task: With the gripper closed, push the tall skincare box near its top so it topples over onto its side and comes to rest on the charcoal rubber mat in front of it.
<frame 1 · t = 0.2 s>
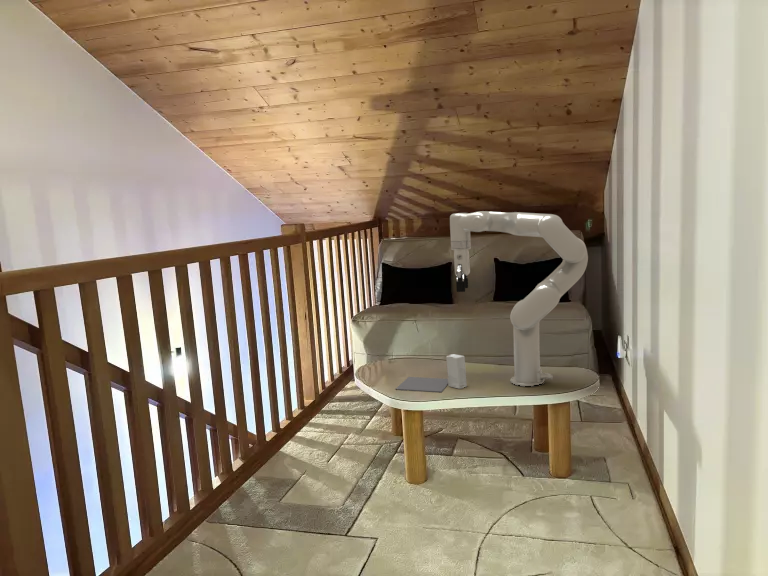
hand: (462, 289, 223), 36 cm above the table, tool pointing down, fingers open, 9 cm apart
skincare box: (457, 387, 220), on the table
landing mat: (424, 384, 225), on the table
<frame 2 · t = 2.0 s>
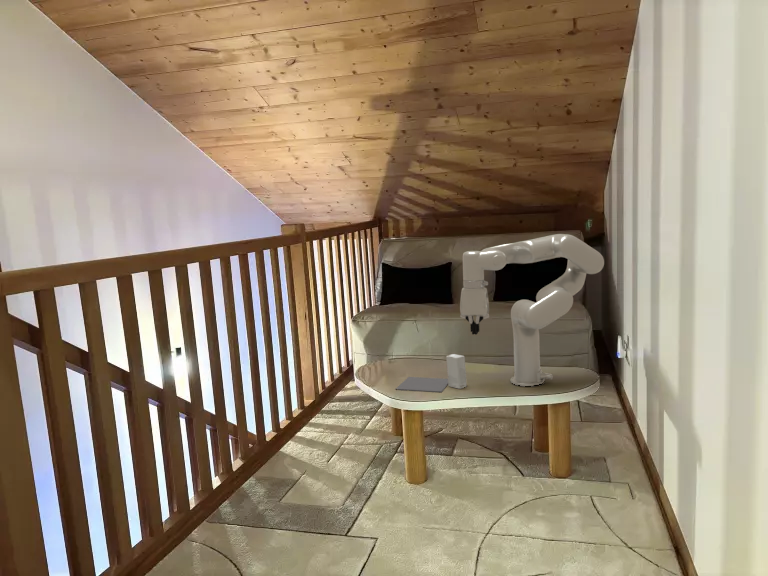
hand: (475, 333, 214), 21 cm above the table, tool pointing down, fingers closed
nothing on the table moved.
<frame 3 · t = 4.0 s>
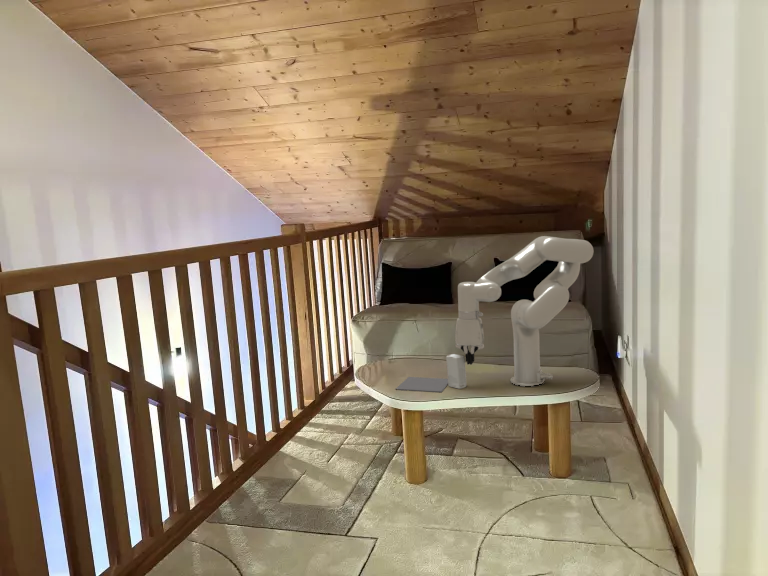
hand: (470, 363, 217), 9 cm above the table, tool pointing down, fingers closed
skincare box: (457, 387, 220), on the table, touching gripper
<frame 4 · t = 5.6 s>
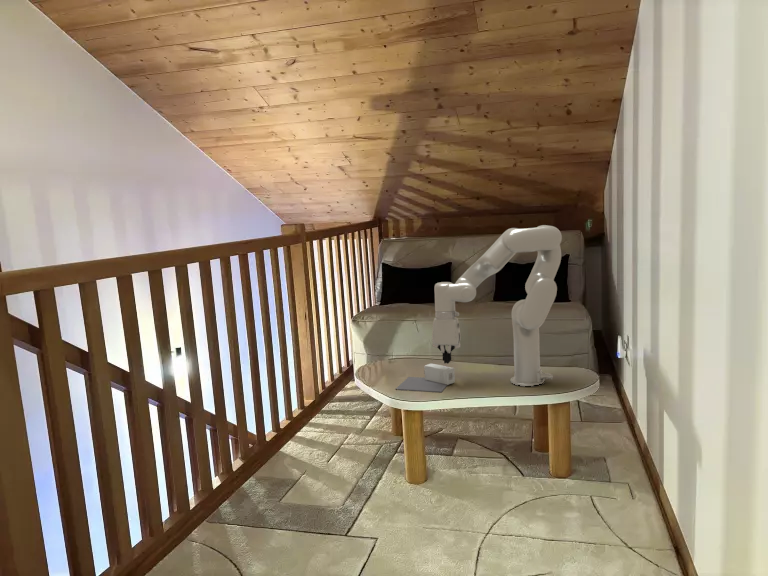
hand: (447, 362, 220), 9 cm above the table, tool pointing down, fingers closed
skincare box: (451, 376, 222), point 3 cm above the table, touching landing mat
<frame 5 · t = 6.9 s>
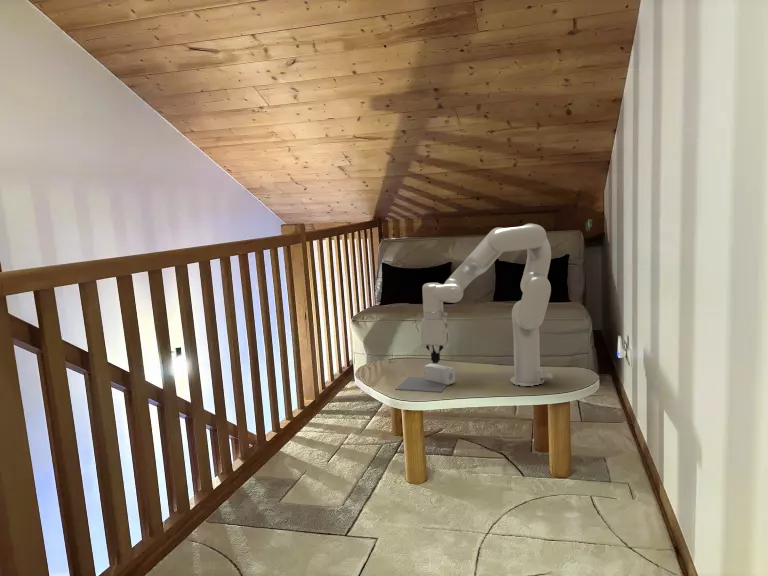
hand: (435, 362, 222), 9 cm above the table, tool pointing down, fingers closed
nothing on the table moved.
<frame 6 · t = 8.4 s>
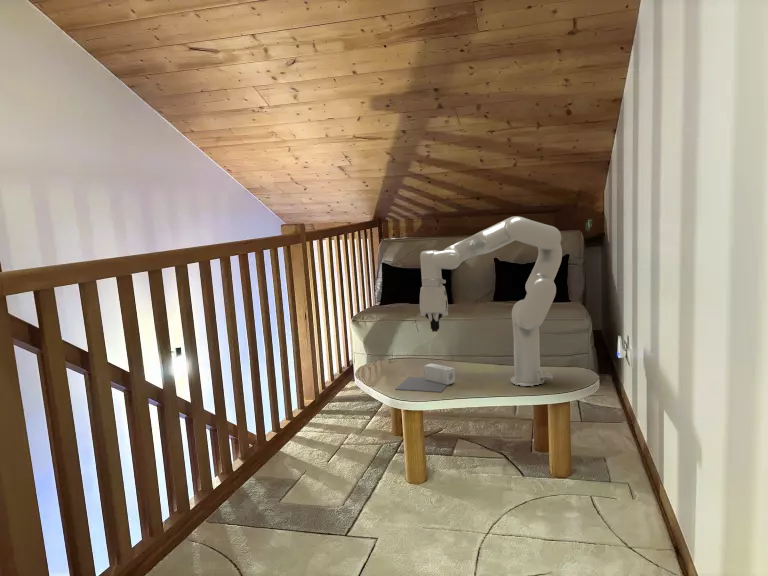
hand: (435, 330, 220), 21 cm above the table, tool pointing down, fingers closed
nothing on the table moved.
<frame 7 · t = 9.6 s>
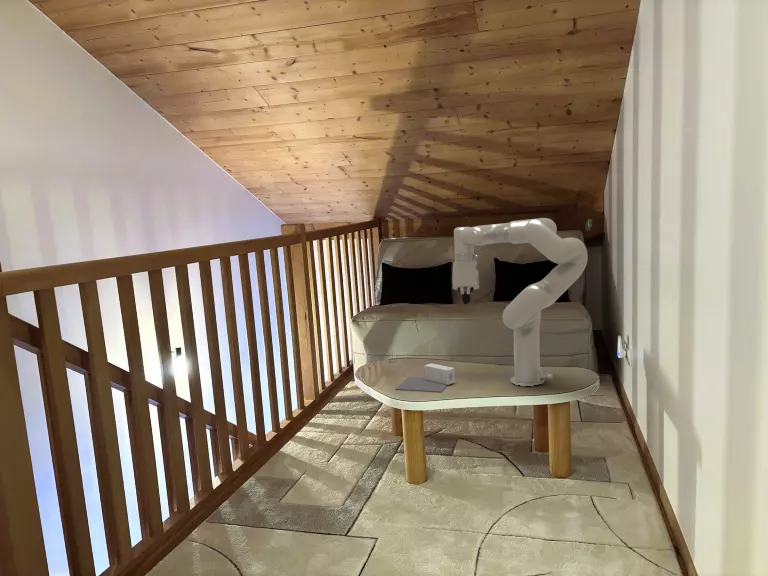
hand: (466, 303, 232), 29 cm above the table, tool pointing down, fingers closed
nothing on the table moved.
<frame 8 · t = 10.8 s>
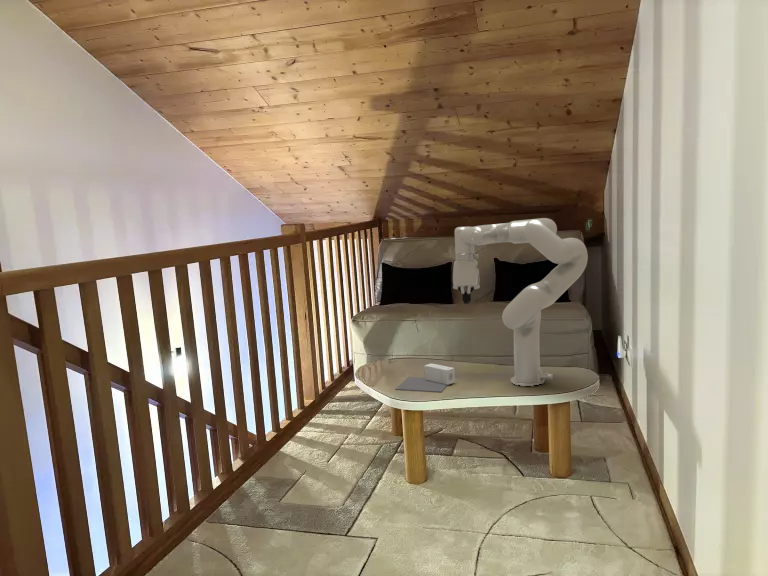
hand: (466, 303, 232), 29 cm above the table, tool pointing down, fingers closed
nothing on the table moved.
at the end: skincare box tilted 89°; skincare box inside the target area (4.8 cm from its centre), point 3.2 cm above the table; skincare box touching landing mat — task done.
